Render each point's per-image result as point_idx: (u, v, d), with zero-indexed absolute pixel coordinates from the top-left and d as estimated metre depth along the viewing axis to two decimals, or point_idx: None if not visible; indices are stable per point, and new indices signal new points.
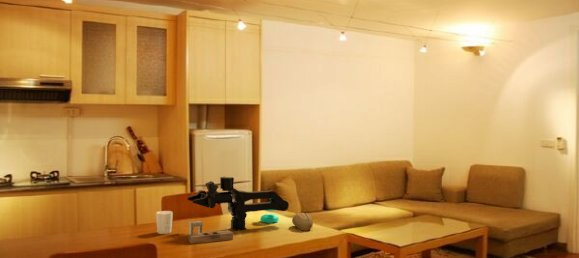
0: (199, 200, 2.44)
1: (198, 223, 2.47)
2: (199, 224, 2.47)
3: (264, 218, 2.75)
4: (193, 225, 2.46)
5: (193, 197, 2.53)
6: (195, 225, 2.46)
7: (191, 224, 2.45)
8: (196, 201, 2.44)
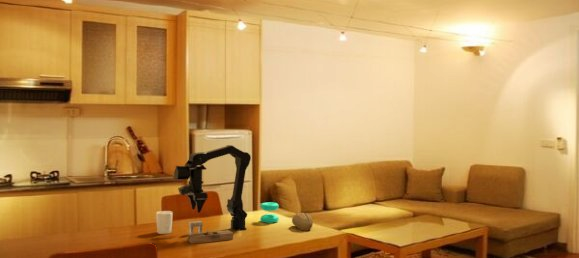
0: (198, 206, 2.42)
1: (198, 223, 2.47)
2: (199, 224, 2.47)
3: (264, 218, 2.75)
4: (193, 225, 2.46)
5: (192, 203, 2.51)
6: (195, 225, 2.46)
7: (191, 224, 2.45)
8: (199, 209, 2.43)
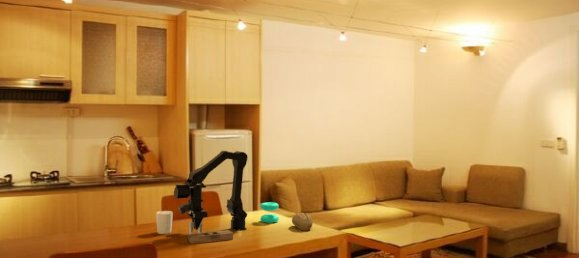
0: (196, 223, 2.45)
1: None
2: None
3: (264, 218, 2.75)
4: (193, 225, 2.46)
5: (194, 222, 2.48)
6: None
7: (191, 224, 2.45)
8: (196, 226, 2.46)
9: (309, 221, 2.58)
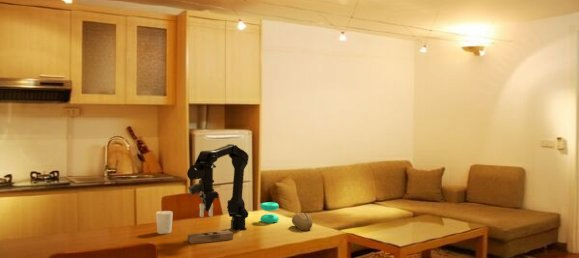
0: (207, 204, 2.36)
1: None
2: None
3: (264, 218, 2.75)
4: (203, 206, 2.37)
5: None
6: None
7: (201, 205, 2.37)
8: (207, 208, 2.37)
9: (309, 221, 2.58)
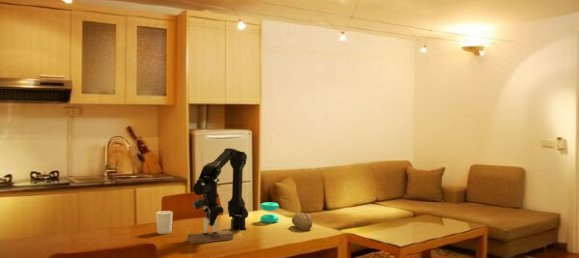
0: (211, 219, 2.34)
1: None
2: None
3: (264, 218, 2.75)
4: (208, 221, 2.34)
5: (209, 218, 2.37)
6: None
7: (206, 220, 2.34)
8: (212, 222, 2.34)
9: (309, 221, 2.58)
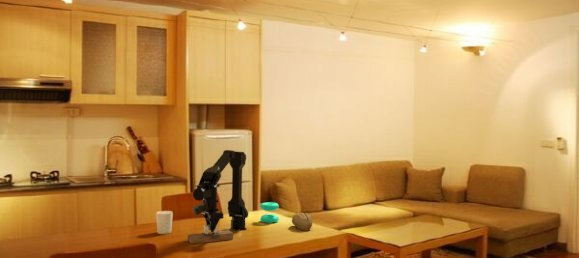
0: (212, 225, 2.33)
1: None
2: None
3: (264, 218, 2.75)
4: (208, 228, 2.35)
5: (208, 223, 2.38)
6: (210, 228, 2.35)
7: (206, 227, 2.34)
8: (212, 228, 2.34)
9: (309, 221, 2.58)
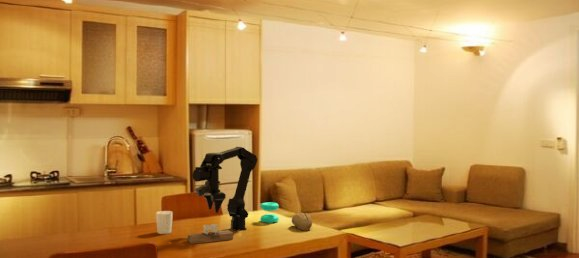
0: (216, 206, 2.41)
1: (213, 226, 2.36)
2: (214, 227, 2.36)
3: (264, 218, 2.75)
4: (208, 228, 2.35)
5: (209, 203, 2.50)
6: (210, 228, 2.35)
7: (206, 227, 2.34)
8: (216, 209, 2.42)
9: (309, 221, 2.58)
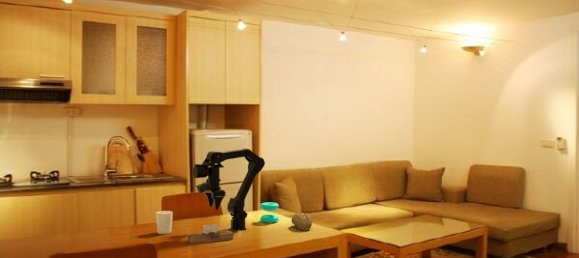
0: (216, 203, 2.46)
1: (213, 226, 2.36)
2: (214, 227, 2.36)
3: (264, 218, 2.75)
4: (208, 228, 2.35)
5: (210, 200, 2.55)
6: (210, 228, 2.35)
7: (206, 227, 2.34)
8: (216, 206, 2.47)
9: (308, 221, 2.58)
